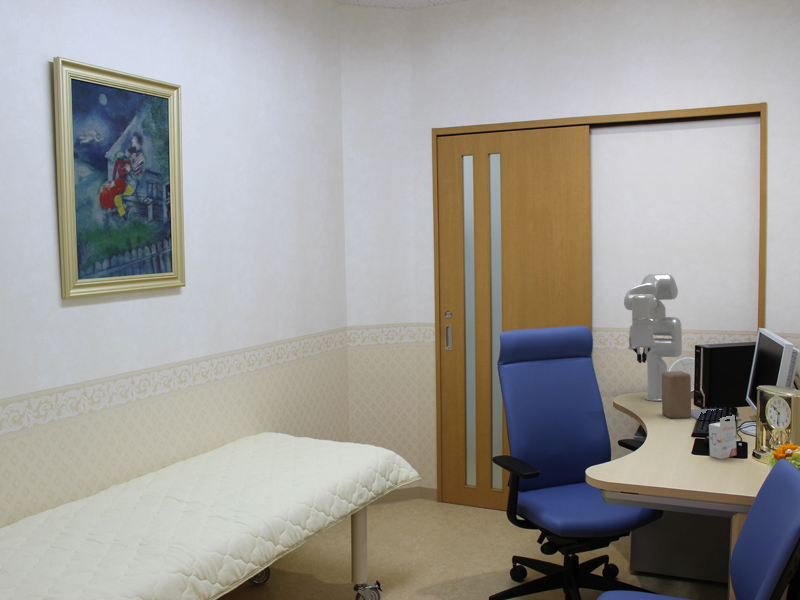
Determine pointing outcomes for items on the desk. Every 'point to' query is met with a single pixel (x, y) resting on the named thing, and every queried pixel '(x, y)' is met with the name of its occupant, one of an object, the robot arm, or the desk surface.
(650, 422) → the desk surface
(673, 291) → the robot arm
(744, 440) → the desk surface
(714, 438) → the ink cartridge box
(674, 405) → the wooden block
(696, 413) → the mat
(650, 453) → the desk surface
